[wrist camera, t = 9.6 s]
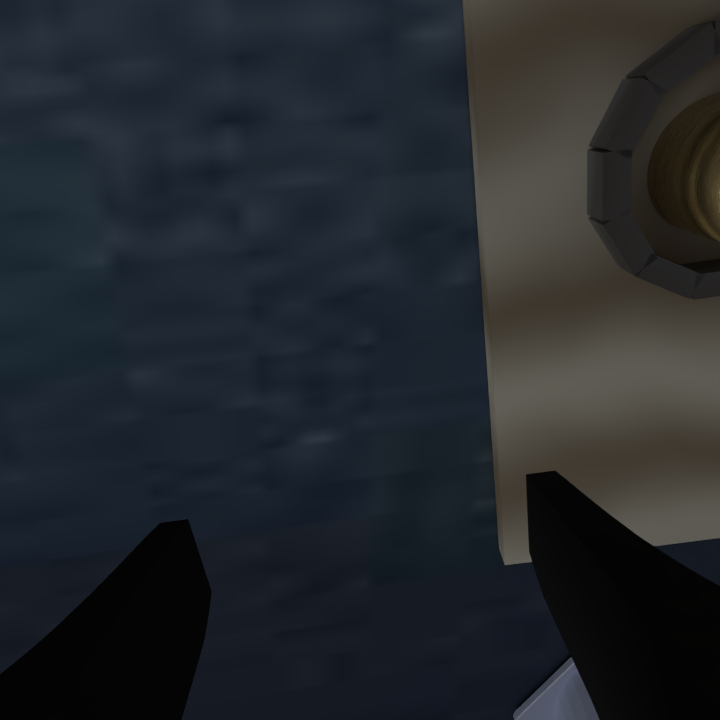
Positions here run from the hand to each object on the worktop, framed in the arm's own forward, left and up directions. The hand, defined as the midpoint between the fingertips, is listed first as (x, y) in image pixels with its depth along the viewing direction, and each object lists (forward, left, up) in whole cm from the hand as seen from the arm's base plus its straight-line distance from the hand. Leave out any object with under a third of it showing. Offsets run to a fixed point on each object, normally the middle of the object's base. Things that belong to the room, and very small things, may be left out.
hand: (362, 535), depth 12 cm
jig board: (-9, -8, -9) cm, 15 cm away
